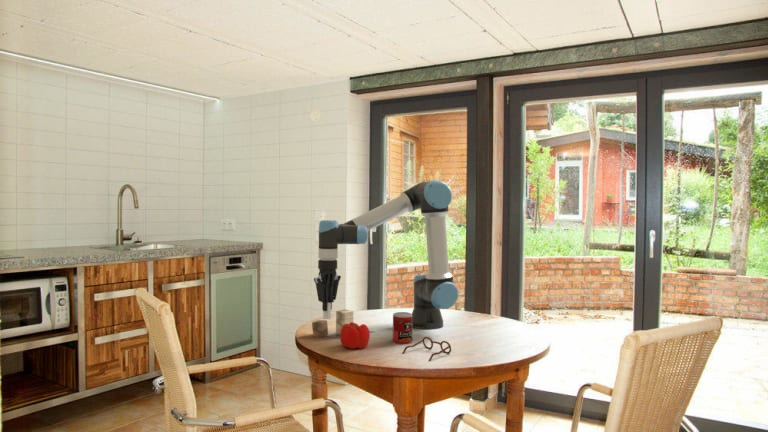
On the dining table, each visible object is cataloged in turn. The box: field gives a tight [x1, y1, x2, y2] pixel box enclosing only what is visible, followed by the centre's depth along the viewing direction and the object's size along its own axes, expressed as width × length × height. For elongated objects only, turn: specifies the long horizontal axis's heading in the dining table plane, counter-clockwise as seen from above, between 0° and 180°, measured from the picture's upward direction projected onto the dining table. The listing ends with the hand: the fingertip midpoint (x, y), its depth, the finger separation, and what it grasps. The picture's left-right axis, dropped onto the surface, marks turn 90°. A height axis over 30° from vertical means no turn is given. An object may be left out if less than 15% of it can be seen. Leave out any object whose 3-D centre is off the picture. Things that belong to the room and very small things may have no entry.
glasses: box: [401, 336, 452, 362], centre depth 188 cm, size 13×13×5 cm
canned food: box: [392, 311, 413, 345], centre depth 205 cm, size 8×8×11 cm
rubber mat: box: [326, 330, 375, 340], centre depth 215 cm, size 11×19×1 cm, turn 141°
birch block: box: [335, 308, 354, 336], centre depth 212 cm, size 5×5×10 cm
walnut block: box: [311, 319, 329, 338], centre depth 211 cm, size 4×4×6 cm
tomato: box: [339, 322, 371, 350], centre depth 195 cm, size 11×12×9 cm
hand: (326, 318), depth 204 cm, fingers closed
